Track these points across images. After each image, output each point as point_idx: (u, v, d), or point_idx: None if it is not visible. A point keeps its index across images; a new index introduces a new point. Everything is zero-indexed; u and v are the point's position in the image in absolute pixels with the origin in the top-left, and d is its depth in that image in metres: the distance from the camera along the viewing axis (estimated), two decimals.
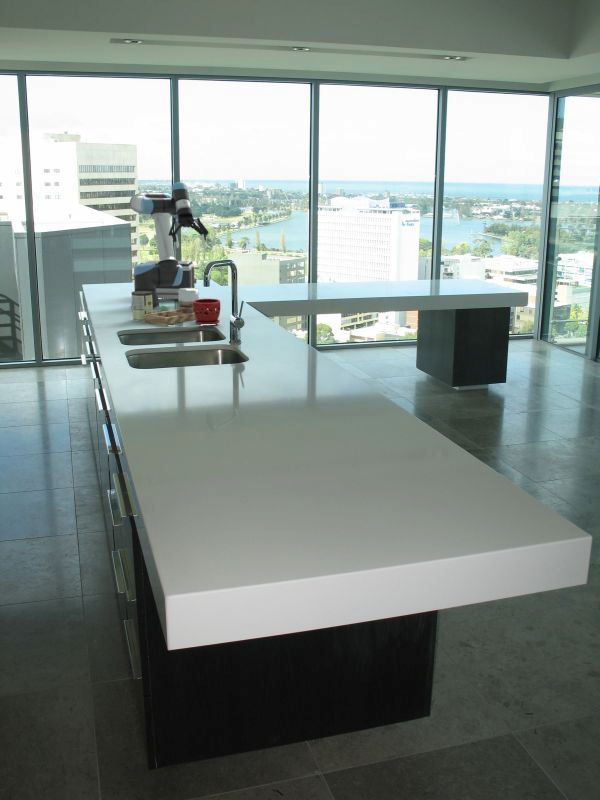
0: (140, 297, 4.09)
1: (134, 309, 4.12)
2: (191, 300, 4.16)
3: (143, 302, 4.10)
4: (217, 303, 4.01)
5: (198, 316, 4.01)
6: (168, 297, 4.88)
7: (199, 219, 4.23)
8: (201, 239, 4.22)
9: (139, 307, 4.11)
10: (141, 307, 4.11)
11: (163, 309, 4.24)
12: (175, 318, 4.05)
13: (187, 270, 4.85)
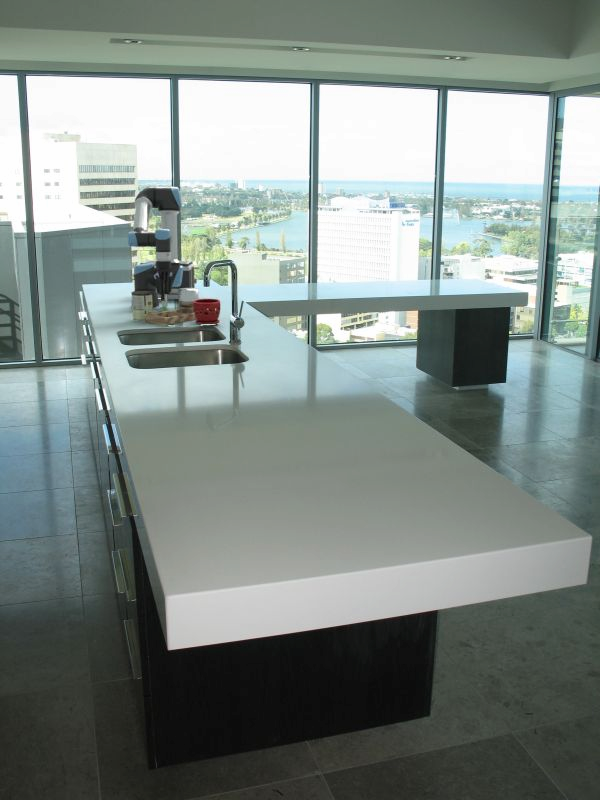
0: (140, 297, 4.09)
1: (134, 309, 4.12)
2: (191, 300, 4.16)
3: (143, 302, 4.10)
4: (217, 303, 4.01)
5: (198, 316, 4.01)
6: (168, 297, 4.88)
7: (173, 276, 4.26)
8: None
9: (139, 307, 4.11)
10: (141, 307, 4.11)
11: (163, 311, 4.25)
12: (175, 318, 4.05)
13: (187, 270, 4.84)
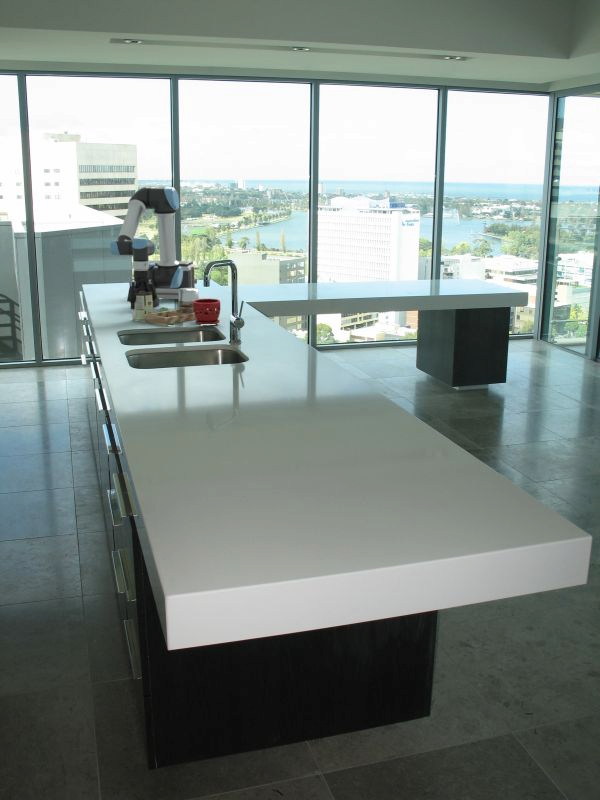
0: (140, 297, 4.09)
1: None
2: (191, 300, 4.16)
3: (143, 302, 4.10)
4: (217, 303, 4.01)
5: (198, 316, 4.01)
6: (167, 297, 4.88)
7: (153, 282, 4.17)
8: None
9: (139, 307, 4.11)
10: (141, 307, 4.11)
11: (163, 311, 4.25)
12: (175, 318, 4.05)
13: (186, 270, 4.84)
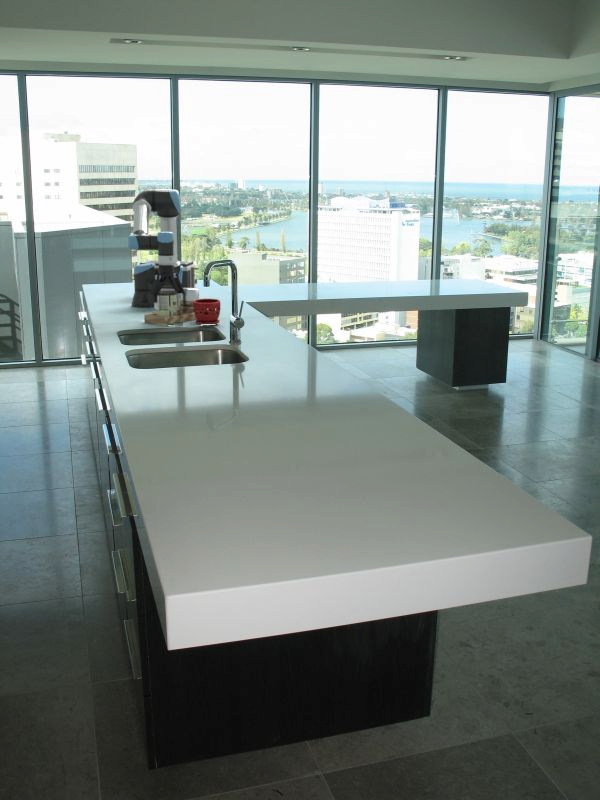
0: (165, 297, 4.03)
1: (159, 309, 4.06)
2: (192, 299, 4.16)
3: (168, 302, 4.04)
4: (217, 303, 4.01)
5: (198, 316, 4.01)
6: None
7: (178, 275, 4.11)
8: None
9: (164, 307, 4.05)
10: (165, 308, 4.05)
11: None
12: (175, 318, 4.05)
13: (185, 270, 4.83)
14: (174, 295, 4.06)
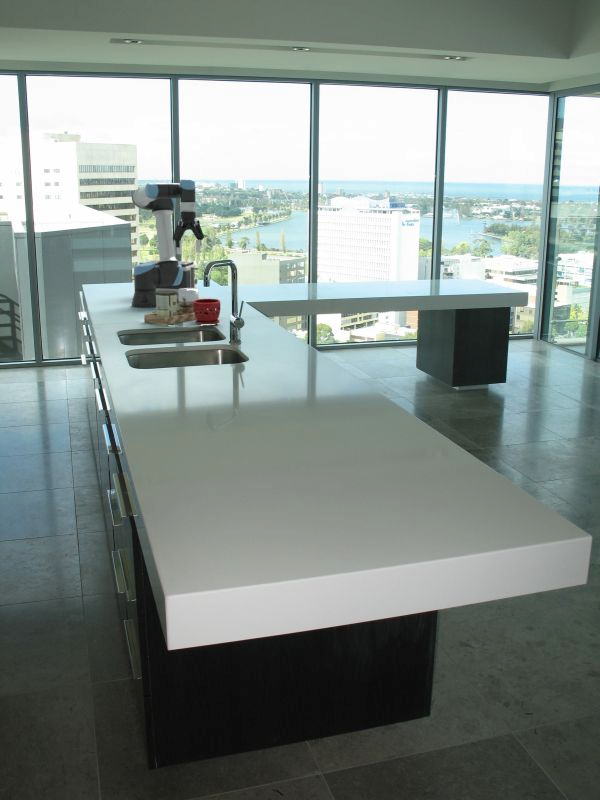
0: (165, 297, 4.03)
1: (159, 309, 4.06)
2: (191, 300, 4.16)
3: (168, 302, 4.04)
4: (217, 303, 4.01)
5: (198, 316, 4.01)
6: None
7: (199, 222, 4.28)
8: (196, 242, 4.32)
9: (164, 307, 4.05)
10: (165, 308, 4.05)
11: None
12: (175, 318, 4.05)
13: (184, 270, 4.82)
14: (174, 295, 4.06)
